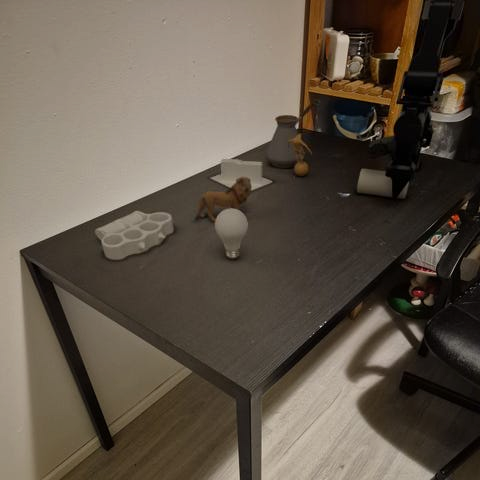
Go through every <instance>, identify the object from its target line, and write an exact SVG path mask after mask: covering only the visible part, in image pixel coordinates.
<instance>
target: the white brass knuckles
mask: <svg viewBox="0 0 480 480" xmlns="http://www.w3.org/2000/svg"><path fill="white" fill-rule="evenodd" d="M174 230H175V228H174V222H173V216H172V214H170V213H168V212H164V211H161V212H160V211H159V212H158V211H157V212H153V213H145V212H143V211H140V210H135V211H133V212H132V213H129V214H127V215H125V216H123V217H120V218H117V219H116V220H113V221H111V222H109V223H107V224H106V225H103V226H101V227H97V228H95V230H94V233H95V236H96V237H97V238H98V240H100V243H101V245H102V249H103V253H104V256H105V257H106V258H107V259H109V260H113V261H121V260H125V258H127V257H130V256H132V255H138V254H143V253H146V252H148V250H149V249H151V248H153V247H155V246H159V245H160V244H161V243H162V242H164V240H165V239H166V238H167V236H169V235H171V234H173V233H174V232H175V231H174Z"/></svg>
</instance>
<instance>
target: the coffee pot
mask: <svg viewBox="0 0 480 480" xmlns="http://www.w3.org/2000/svg"><path fill="white" fill-rule="evenodd" d="M317 101H318V103H319V104H317ZM320 103H321V101H320V100H319V99H318V98H315V99H313V100H312V101H311V102H310V104H309V105H308V106H306V108H305V109H304V110H303V111H302V113H301V114H300V115H299V116H298V117H297V116H295V115H292V114H282V115H278V116H276V117H275V119H274V120H275V122H276V125H277V126H276V129H275V131H274V132H273V136H272V138H271V141H270V142H269V145H268V147H267V150H266V152H265V157H266V158H267V160H268V162H269V163H271V165H272V166H274V167H276V168H279V169H290V168H294V167H295V165H296V164H297V163H298V161H297V158H296V156H297V155H298V154H297V153H296V152H295V150H294V148H295V146H294V144H293V142H289V146H290V147H288V148H289V149H287V144H288V140H291V139H293V138H295V137H297V135H298V134H299V133H298V129H297V127H296V125H297V124H298V123H299V122H300V121H301V119H303V118H304V117H305V116H306V115H307V114H308V113H309V112H310V111H311V109H312V108H313V107H314V106H315V105H316V106H320ZM301 149H303V151H304V146H303V145H302V144H301ZM304 152H305V151H304ZM302 156H303V155H302V154H301V153H299V157H298V159H299V161H301V157H302Z"/></svg>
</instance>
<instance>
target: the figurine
mask: <svg viewBox="0 0 480 480" xmlns="http://www.w3.org/2000/svg"><path fill="white" fill-rule="evenodd" d="M289 142H293V144H294V146H295V148H294V150H295V152H296V153H297V154H298V155H297V156H296V158H297V161H298V163H297V164H296V165H295V166H294V167H293V168H294V169H293V170H294V173H295V175H297V176H298V177H304V176H306V175H307V174H308V172H309V165H308V163H307V162H306V161H303V160H304V157H305V155H306V152H305V151H303V150H304V148H303V149H301V144H302V147H305V148H306V149H307V151H308V152H309V153H310V155H311V156H313V152H312V151H311V149H310V148H309V147H308V145H307V144H306V143H305V142H304V141H303V140H302V134H301V133H298V135H297V137H295V138H293V139H291V140H288V144H287V149H289V148H288V147H290V146H289ZM299 153H301V154H302V155H303V156H302V157H301V161H299V159H298V157H299Z"/></svg>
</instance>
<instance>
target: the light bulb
mask: <svg viewBox="0 0 480 480" xmlns="http://www.w3.org/2000/svg"><path fill="white" fill-rule="evenodd" d="M215 218H216V221H214V229H215V232H216V234H217V236H218V237H219V238H220V240H221V241H222V243H223V246H224V249H225V255H226V257H227V258H228V259H231V260H232V259H237V258H239V257H240V255H241V250H240V248H241V243H242V241H243V239H244V237H245V236H246V234H247V232H248V227H249V222H248V219H247V217H246V215H245V214H244V213H243V211H241V210H237V209H233V208H231V207H230V208H225V209H223V210H222V211H220V212H219V213H218V214H217V216H216V217H215Z"/></svg>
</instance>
